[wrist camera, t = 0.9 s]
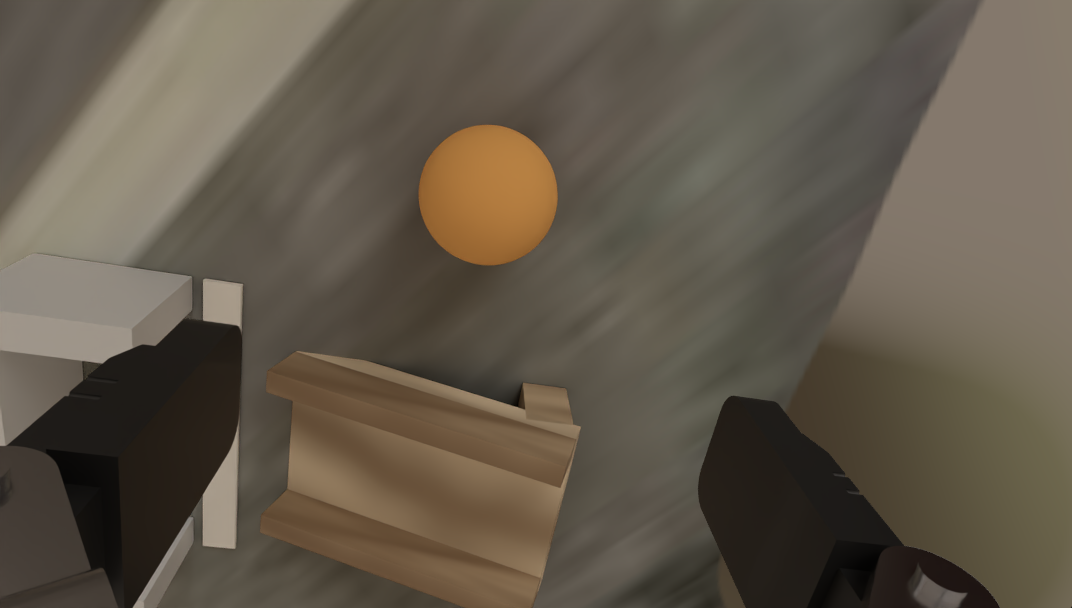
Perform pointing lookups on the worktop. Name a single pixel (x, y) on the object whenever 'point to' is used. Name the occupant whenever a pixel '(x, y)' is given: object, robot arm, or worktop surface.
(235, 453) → the strip
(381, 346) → the worktop surface
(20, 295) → the backstop
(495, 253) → the ball
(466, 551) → the ramp
